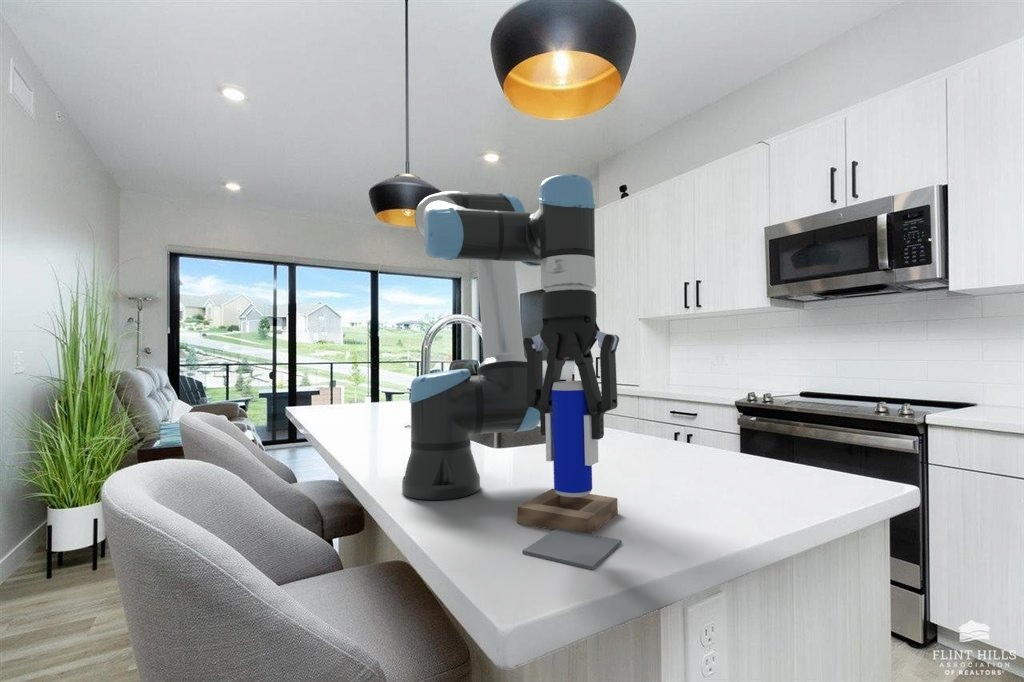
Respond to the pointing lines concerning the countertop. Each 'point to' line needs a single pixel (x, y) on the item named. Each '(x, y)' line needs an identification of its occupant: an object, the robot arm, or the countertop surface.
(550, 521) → the walnut collar block
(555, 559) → the grey rubber mat
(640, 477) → the countertop surface
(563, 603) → the countertop surface
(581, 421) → the beverage can
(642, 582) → the countertop surface
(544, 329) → the robot arm
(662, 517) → the countertop surface
